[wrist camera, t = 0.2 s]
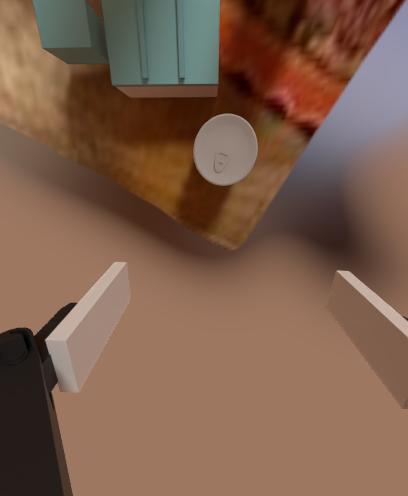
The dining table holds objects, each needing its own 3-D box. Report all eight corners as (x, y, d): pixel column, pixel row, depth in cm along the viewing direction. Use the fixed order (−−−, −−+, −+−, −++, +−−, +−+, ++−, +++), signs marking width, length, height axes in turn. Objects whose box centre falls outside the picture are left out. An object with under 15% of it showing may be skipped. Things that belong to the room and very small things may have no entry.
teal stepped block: (219, -12, 27) (221, -46, 22) (217, 90, 31) (218, 78, 26) (55, -8, 28) (23, -41, 23) (73, 91, 31) (49, 80, 27)
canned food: (196, 176, 39) (191, 184, 29) (198, 123, 36) (194, 110, 26) (242, 179, 39) (253, 188, 29) (248, 126, 36) (263, 114, 26)
